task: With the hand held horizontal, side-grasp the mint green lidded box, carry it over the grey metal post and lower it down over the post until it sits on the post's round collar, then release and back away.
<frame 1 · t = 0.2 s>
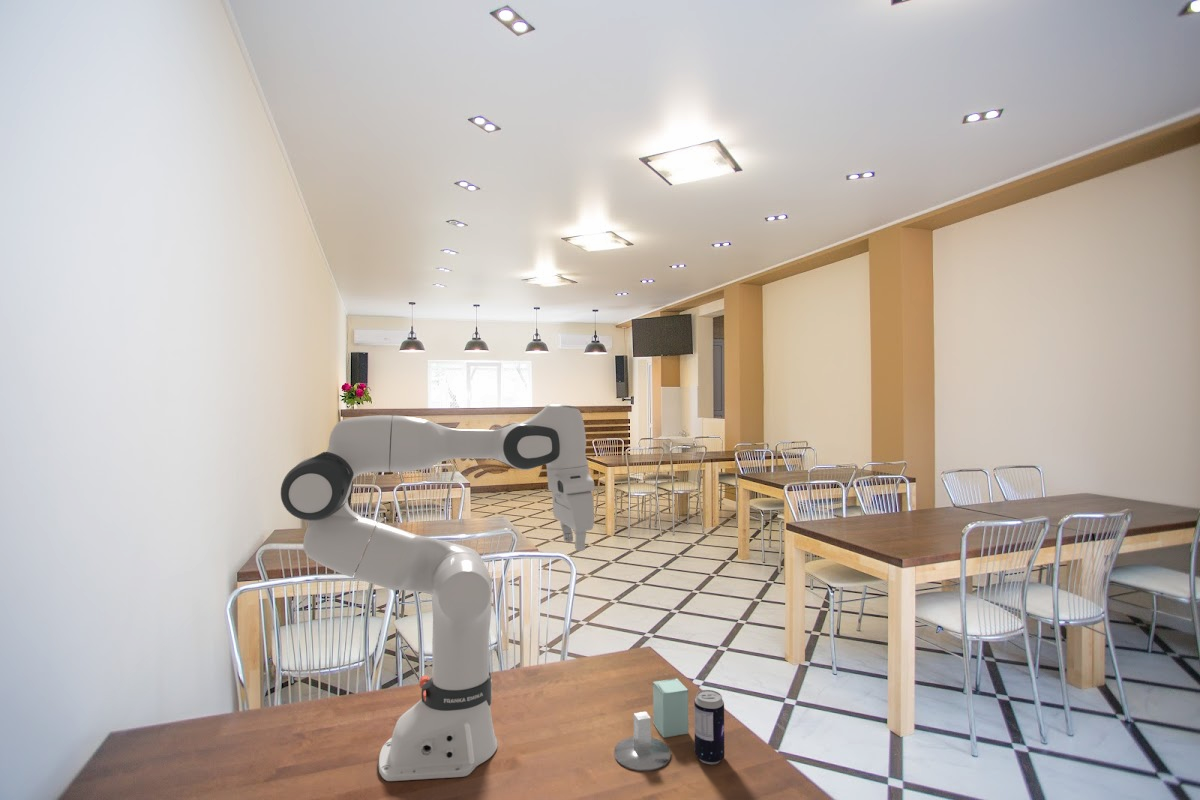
hand: (574, 545, 125), 39 cm above the table, tool pointing down, fingers open, 8 cm apart
post: (642, 754, 116), on the table
mint green lidded box: (670, 728, 126), on the table
beverage can: (709, 759, 115), on the table
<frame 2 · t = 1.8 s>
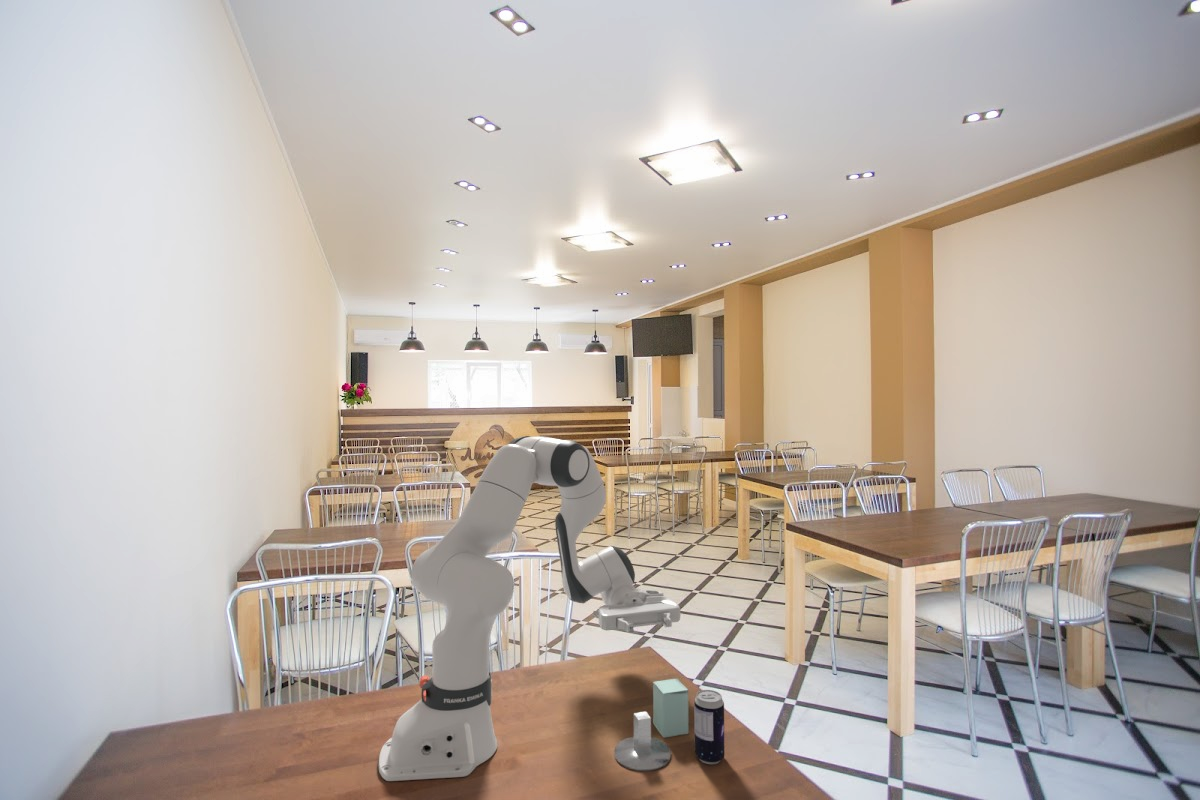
hand: (649, 626, 138), 17 cm above the table, tool horizontal, fingers open, 8 cm apart
nothing on the table moved.
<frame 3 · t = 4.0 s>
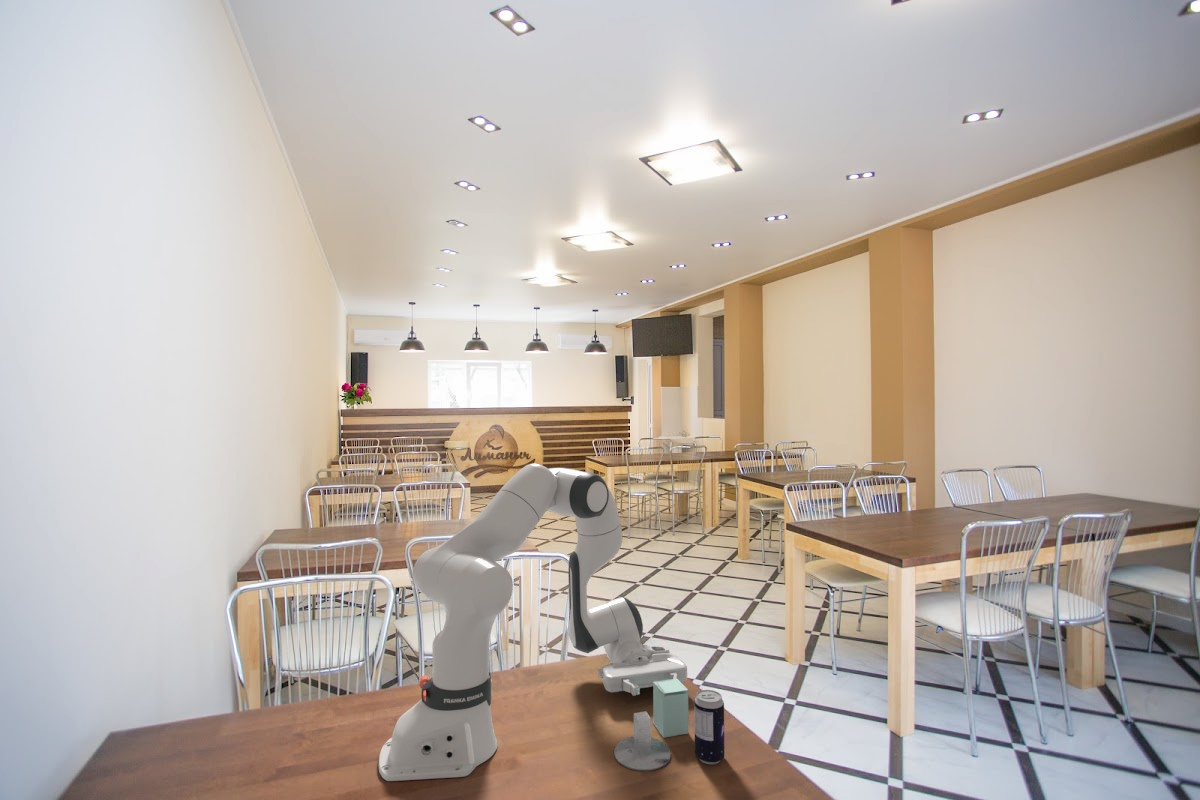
hand: (656, 689, 133), 5 cm above the table, tool horizontal, fingers open, 8 cm apart
nothing on the table moved.
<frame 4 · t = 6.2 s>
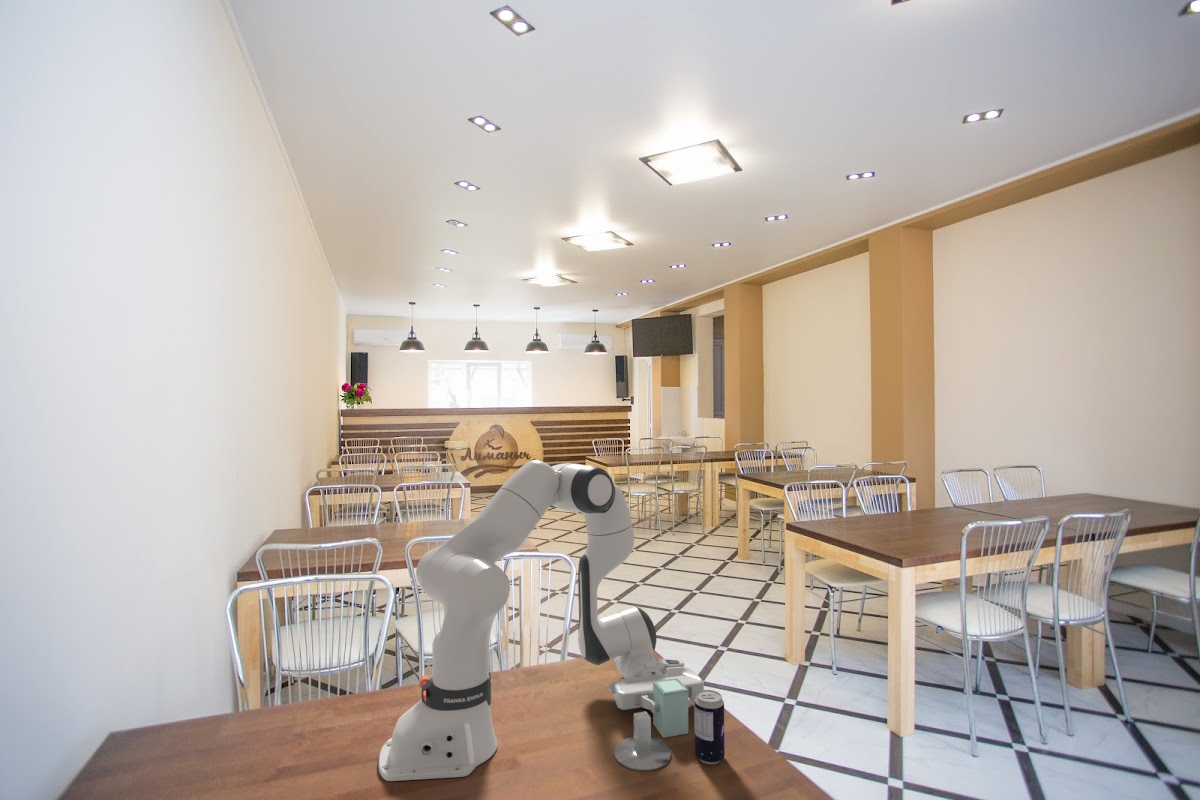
hand: (672, 706, 125), 5 cm above the table, tool horizontal, fingers closed on mint green lidded box, 6 cm apart
mint green lidded box: (670, 728, 126), on the table, touching gripper
everything else where it was.
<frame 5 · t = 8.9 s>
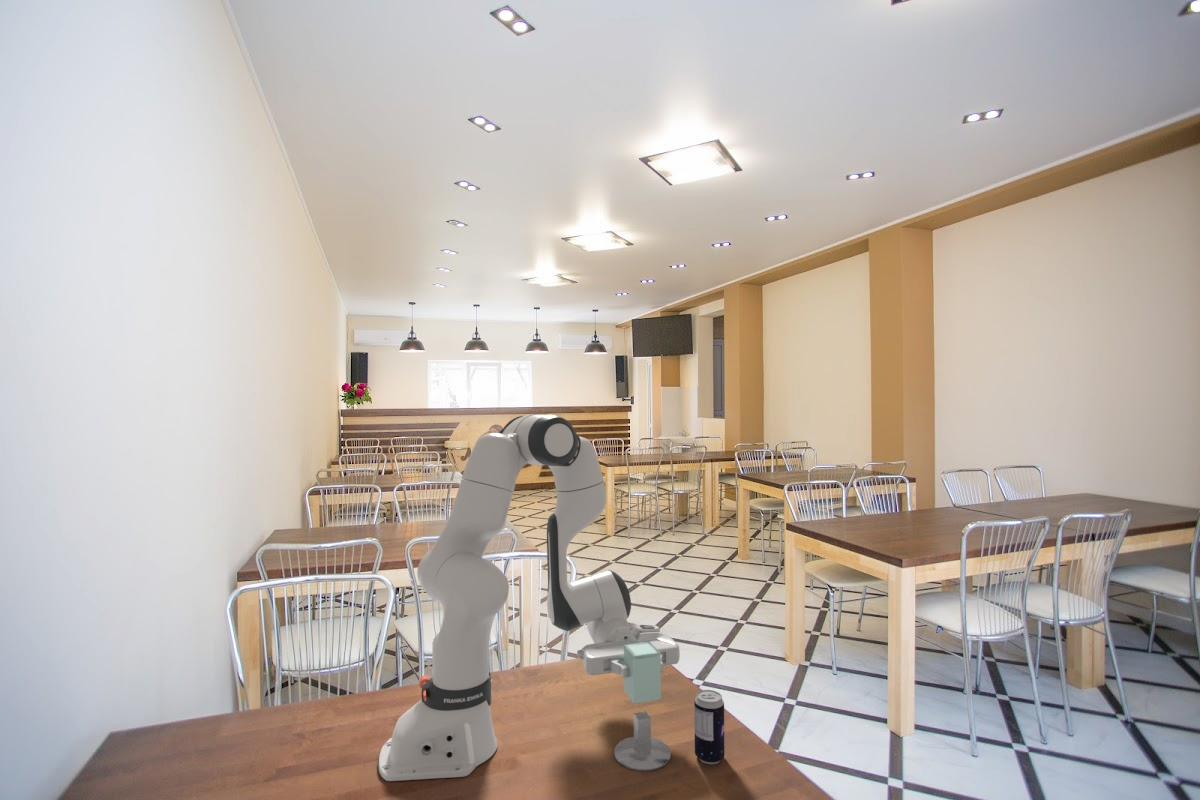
hand: (643, 671, 116), 16 cm above the table, tool horizontal, fingers closed on mint green lidded box, 6 cm apart
mint green lidded box: (642, 694, 117), point 11 cm above the table, touching gripper
everything else where it was.
when the fingers open (6 cm above the table, at t = 11.7 s): mint green lidded box stays where it is, resting on post.
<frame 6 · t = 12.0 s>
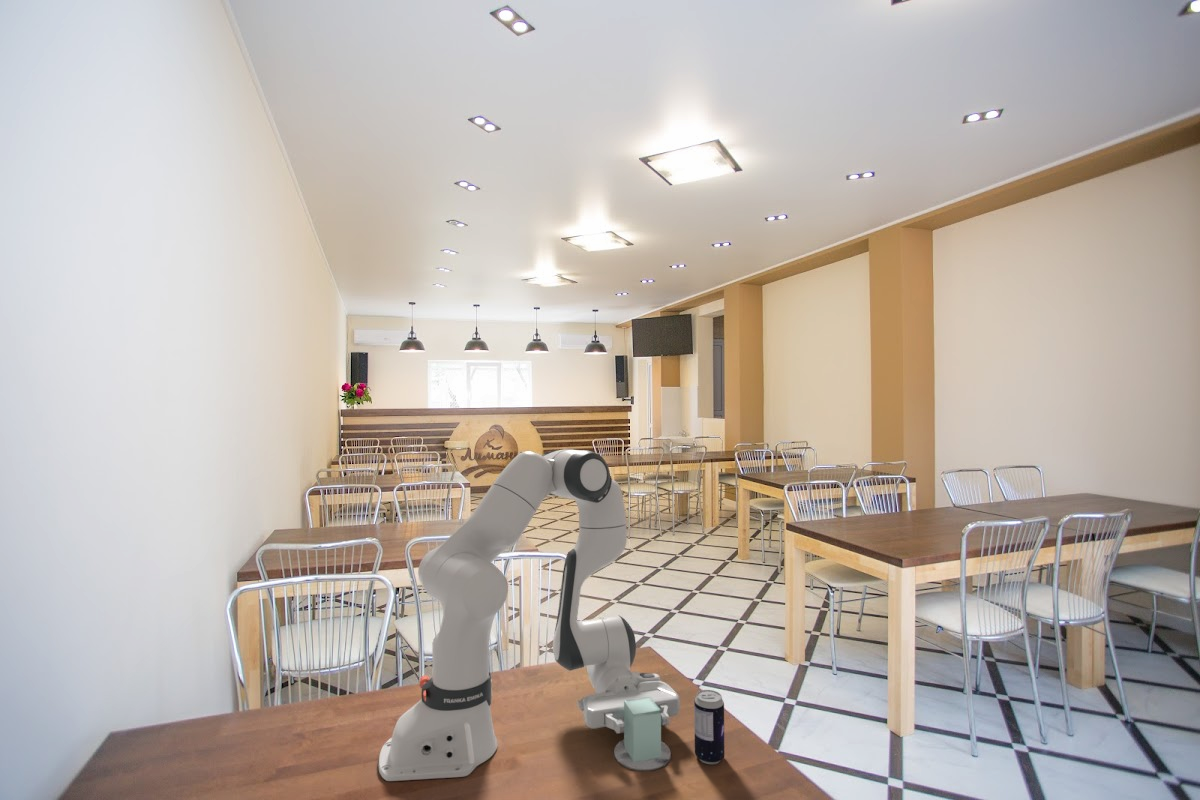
hand: (643, 725, 116), 6 cm above the table, tool horizontal, fingers open, 8 cm apart
mint green lidded box: (642, 751, 116), resting on post
everything else where it was.
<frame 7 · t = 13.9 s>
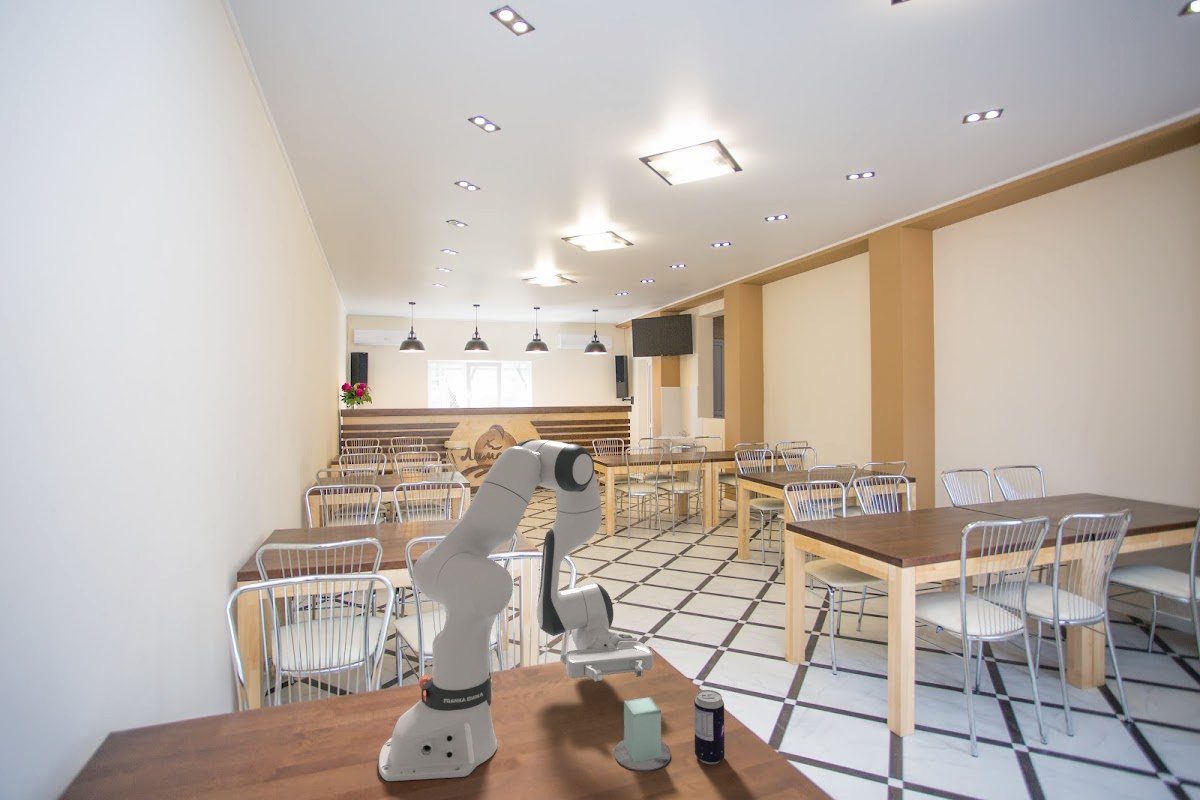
hand: (619, 675, 128), 10 cm above the table, tool horizontal, fingers open, 8 cm apart
nothing on the table moved.
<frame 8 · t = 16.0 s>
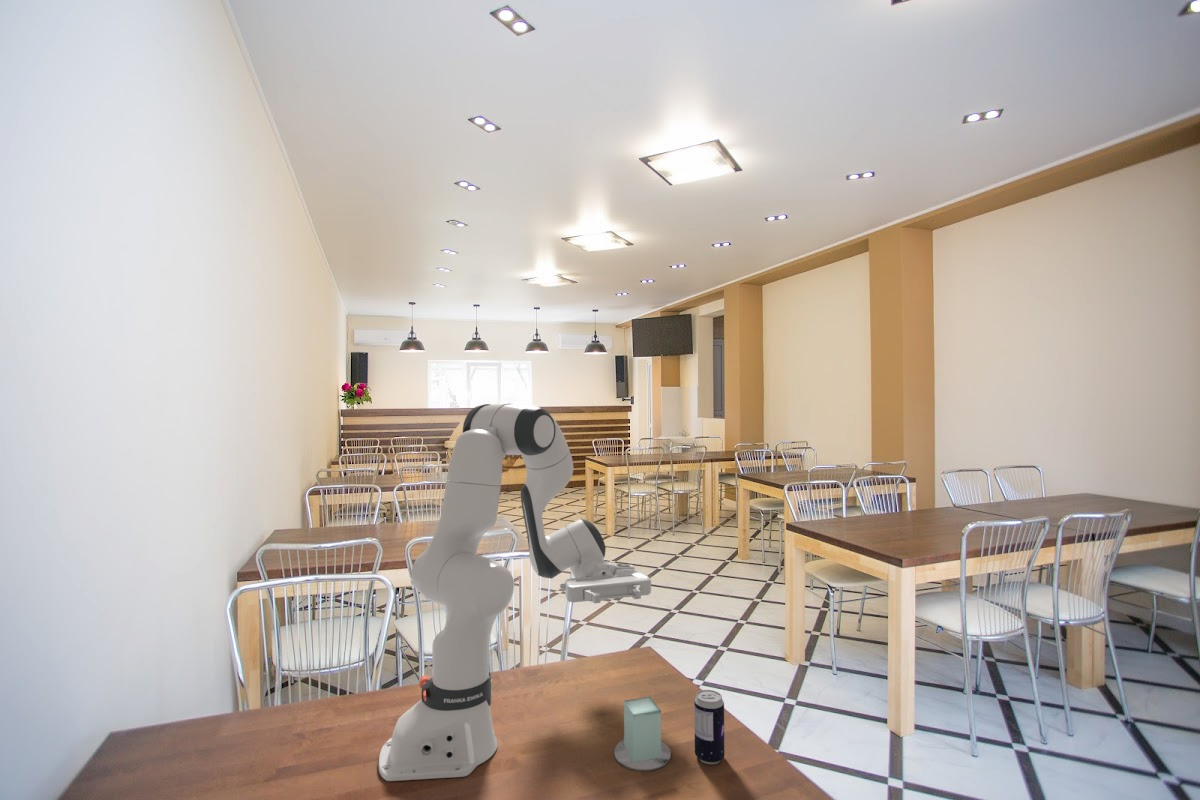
hand: (617, 597, 131), 26 cm above the table, tool horizontal, fingers open, 8 cm apart
nothing on the table moved.
at the end: mint green lidded box 0.0 cm from the post (horizontally); mint green lidded box point 0.5 cm above the table; mint green lidded box tilted 0° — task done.
